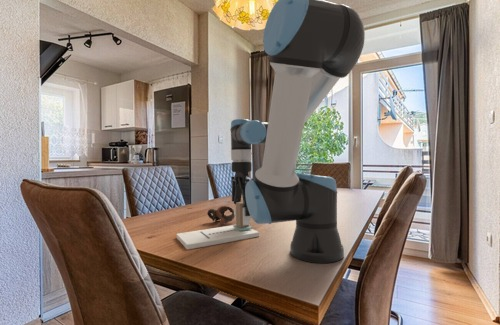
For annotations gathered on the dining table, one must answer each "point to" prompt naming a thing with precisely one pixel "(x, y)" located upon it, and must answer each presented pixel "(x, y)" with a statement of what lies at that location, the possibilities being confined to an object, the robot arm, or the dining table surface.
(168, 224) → the dining table surface
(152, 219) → the dining table surface
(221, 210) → the dark brown looped ring
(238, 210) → the stub
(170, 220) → the dining table surface
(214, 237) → the board
